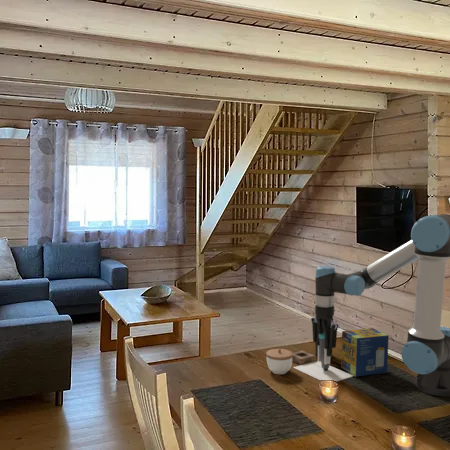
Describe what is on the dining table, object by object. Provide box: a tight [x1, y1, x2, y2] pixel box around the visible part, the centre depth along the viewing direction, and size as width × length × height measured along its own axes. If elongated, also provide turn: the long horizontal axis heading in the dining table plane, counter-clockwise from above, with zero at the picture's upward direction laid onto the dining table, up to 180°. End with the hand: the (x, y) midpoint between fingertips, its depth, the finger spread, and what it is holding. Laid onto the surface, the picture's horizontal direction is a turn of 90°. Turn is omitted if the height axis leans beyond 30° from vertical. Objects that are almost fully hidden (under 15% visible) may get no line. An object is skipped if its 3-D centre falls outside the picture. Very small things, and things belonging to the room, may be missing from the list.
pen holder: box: [292, 350, 316, 366], centre depth 211 cm, size 8×8×2 cm
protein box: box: [340, 328, 389, 377], centre depth 198 cm, size 10×15×16 cm
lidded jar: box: [265, 348, 294, 375], centre depth 198 cm, size 11×11×9 cm
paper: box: [293, 360, 354, 383], centre depth 197 cm, size 20×14×1 cm
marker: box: [319, 333, 331, 371], centre depth 198 cm, size 3×3×15 cm
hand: (323, 362), depth 198 cm, fingers closed on marker, 3 cm apart
